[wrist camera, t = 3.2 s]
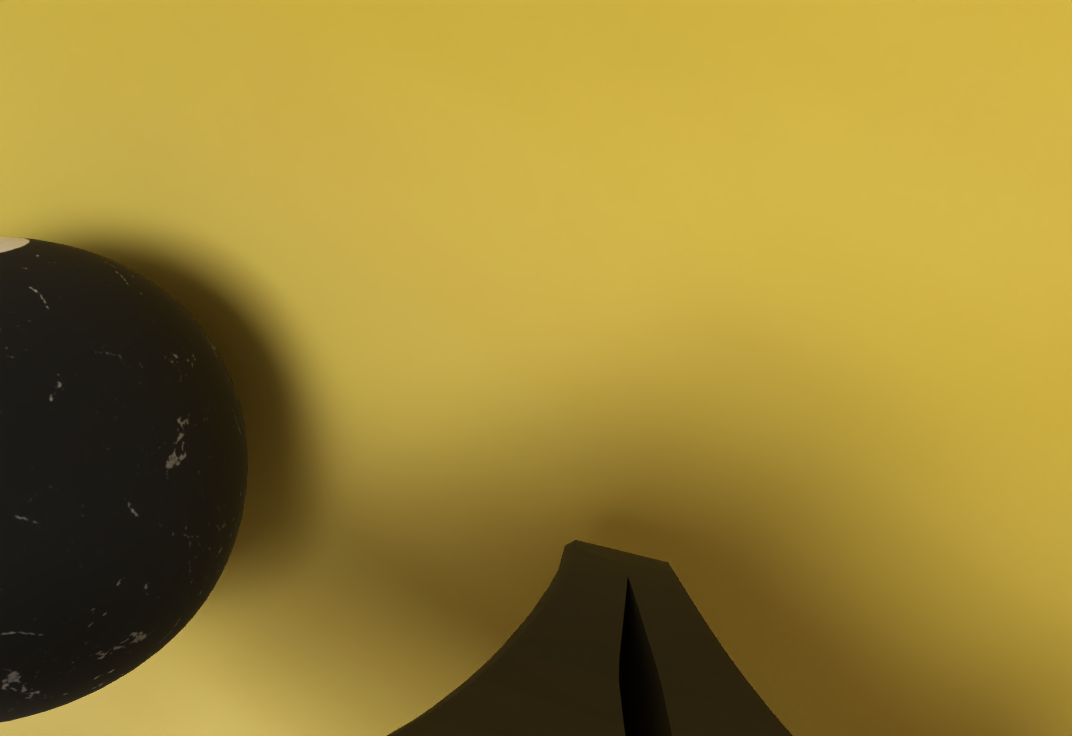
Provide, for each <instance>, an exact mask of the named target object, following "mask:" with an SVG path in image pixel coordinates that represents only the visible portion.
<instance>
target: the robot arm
mask: <svg viewBox="0 0 1072 736" xmlns="http://www.w3.org/2000/svg"><path fill="white" fill-rule="evenodd" d="M387 736H792V734H791V733H790V732H789V731H788V730H787V729H786V728H785V727H784V725H783V724H782V723H781V722H780V721H779V720H778V719H777V717H776V716H775V715H774V714H773V713H772V711H771V710H770V709H769V708H768V706H767V705H766V704H765V703H764V701H763V700H762V699H761V698H760V696H759V695H758V694H757V693H756V691H755V690H754V689H753V688H752V686H751V685H750V684H749V683H748V681H747V680H746V679H745V677H744V676H743V675H742V673H741V672H740V671H739V669H738V668H737V667H736V665H735V664H734V663H733V661H732V660H731V658H730V657H729V656H728V654H727V653H726V651H725V650H724V649H723V647H722V646H721V644H720V643H719V641H718V640H717V638H716V637H715V635H714V634H713V632H712V631H711V629H710V628H709V626H708V625H707V623H706V622H705V620H704V619H703V617H702V616H701V614H700V613H699V611H698V609H697V608H696V606H695V605H694V603H693V602H692V600H691V598H690V597H689V595H688V594H687V592H686V590H685V589H684V587H683V586H682V584H681V582H680V581H679V579H678V577H677V576H676V574H675V573H674V571H673V570H672V568H671V567H670V565H669V564H668V562H664V561H660V560H655V559H651V558H647V557H643V556H639V555H635V554H631V553H627V552H623V551H619V550H614V549H610V548H606V547H602V546H598V545H594V544H590V543H586V542H582V541H577V540H575V541H573V542H571V543H569V544H567V545H565V548H564V552H563V555H562V559H561V563H560V566H559V570H558V572H557V573H556V575H555V577H554V579H553V581H552V582H551V584H550V586H549V587H548V589H547V590H546V592H545V593H544V595H543V596H542V598H541V599H540V601H539V602H538V603H537V605H536V606H535V608H534V609H533V611H532V612H531V613H530V615H529V616H528V617H527V618H526V620H525V621H524V622H523V623H522V624H521V625H520V627H519V628H518V629H517V630H516V631H515V632H514V634H513V635H512V636H511V637H510V638H509V639H508V641H507V642H506V643H505V644H504V645H503V646H502V647H501V648H500V649H499V650H498V651H497V652H496V653H495V654H494V655H493V656H492V657H491V659H490V660H488V661H487V662H486V663H485V664H484V665H483V666H482V667H481V668H480V669H479V670H478V671H477V672H476V673H474V674H473V675H472V676H471V677H470V678H469V679H468V680H467V681H465V682H464V683H463V684H462V685H461V686H459V687H458V688H457V689H455V690H454V691H453V692H452V693H450V694H449V695H448V696H446V697H445V698H444V699H443V700H441V701H440V702H439V703H437V704H436V705H435V706H433V707H432V708H431V709H429V710H428V711H426V712H425V713H423V714H422V715H421V716H419V717H418V718H416V719H414V720H413V721H411V722H410V723H408V724H406V725H404V726H403V727H401V728H399V729H398V730H396V731H394V732H392V733H391V734H389V735H387Z"/></svg>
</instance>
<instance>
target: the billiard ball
mask: <svg viewBox="0 0 1072 736" xmlns="http://www.w3.org/2000/svg"><path fill="white" fill-rule="evenodd" d="M247 472H248V461H247V442H246V434H245V426H244V420H243V416H242V412H241V408H240V403H239V400H238V397H237V395H236V392H235V389H234V386H233V383H232V381H231V379H230V377H229V374H228V372H227V370H226V368H225V366H224V363H223V361H222V360H221V358H220V356H219V354H218V353H217V351H216V349H215V347H214V346H213V344H212V343H211V341H210V340H209V338H208V337H207V335H206V334H205V333H204V331H203V330H202V329H201V327H200V326H199V325H198V324H197V322H196V321H195V320H194V319H193V318H192V316H191V315H190V314H189V313H188V312H187V311H186V310H185V309H184V308H183V307H182V306H181V305H180V304H179V303H178V302H177V301H175V300H174V299H173V298H172V297H171V296H170V295H169V294H167V293H166V292H165V291H164V290H162V289H161V288H159V287H158V286H157V285H155V284H154V283H153V282H151V281H150V280H148V279H146V278H145V277H143V276H141V275H140V274H138V273H136V272H135V271H133V270H131V269H129V268H127V267H125V266H123V265H121V264H119V263H117V262H115V261H112V260H110V259H107V258H105V257H102V256H99V255H96V254H94V253H91V252H88V251H86V250H82V249H78V248H75V247H71V246H67V245H63V244H58V243H53V242H47V241H41V240H35V239H27V238H14V237H0V722H5V721H11V720H15V719H19V718H23V717H27V716H30V715H34V714H38V713H41V712H44V711H48V710H51V709H53V708H56V707H59V706H62V705H65V704H68V703H70V702H72V701H75V700H77V699H79V698H82V697H84V696H86V695H88V694H90V693H93V692H95V691H97V690H99V689H101V688H103V687H105V686H106V685H108V684H110V683H112V682H113V681H115V680H117V679H119V678H120V677H122V676H124V675H125V674H127V673H129V672H131V671H132V670H134V669H135V668H136V667H138V666H139V665H140V664H142V663H143V662H145V661H146V660H147V659H149V658H150V657H151V656H153V655H154V654H155V653H157V652H158V651H159V650H160V649H162V648H163V647H164V646H165V645H166V644H167V643H168V642H169V641H170V640H171V639H173V638H174V637H175V636H176V635H177V634H178V633H179V632H180V631H181V630H182V629H183V628H184V627H185V626H186V624H187V623H188V622H189V621H190V620H191V619H192V618H193V616H194V615H195V614H196V613H197V611H198V610H199V609H200V607H201V606H202V605H203V603H204V602H205V600H206V599H207V597H208V596H209V594H210V593H211V591H212V590H213V588H214V586H215V584H216V583H217V581H218V579H219V577H220V575H221V573H222V571H223V569H224V567H225V565H226V563H227V561H228V558H229V556H230V553H231V550H232V548H233V545H234V543H235V539H236V536H237V533H238V529H239V525H240V522H241V518H242V514H243V507H244V501H245V494H246V487H247Z"/></svg>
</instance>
